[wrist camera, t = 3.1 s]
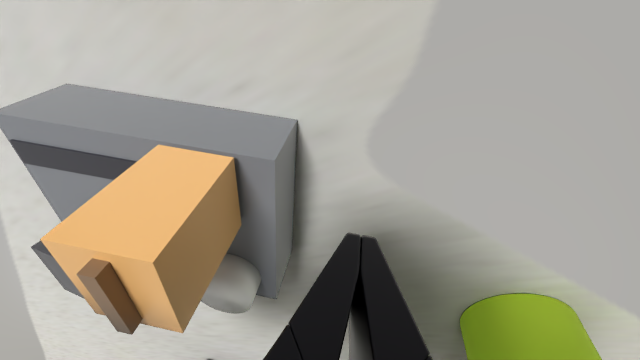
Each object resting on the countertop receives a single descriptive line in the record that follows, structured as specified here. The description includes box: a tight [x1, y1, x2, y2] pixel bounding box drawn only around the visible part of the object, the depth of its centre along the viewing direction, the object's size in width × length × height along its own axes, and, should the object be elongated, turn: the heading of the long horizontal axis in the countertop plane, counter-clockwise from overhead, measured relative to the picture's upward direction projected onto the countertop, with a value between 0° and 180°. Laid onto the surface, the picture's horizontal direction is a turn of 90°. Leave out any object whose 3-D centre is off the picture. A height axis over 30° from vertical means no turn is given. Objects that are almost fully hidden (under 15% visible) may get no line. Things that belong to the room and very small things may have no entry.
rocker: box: [31, 241, 85, 299], centre depth 12 cm, size 3×4×2 cm
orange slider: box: [40, 145, 241, 334], centre depth 8 cm, size 3×2×4 cm
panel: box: [0, 84, 297, 313], centre depth 13 cm, size 8×10×4 cm
